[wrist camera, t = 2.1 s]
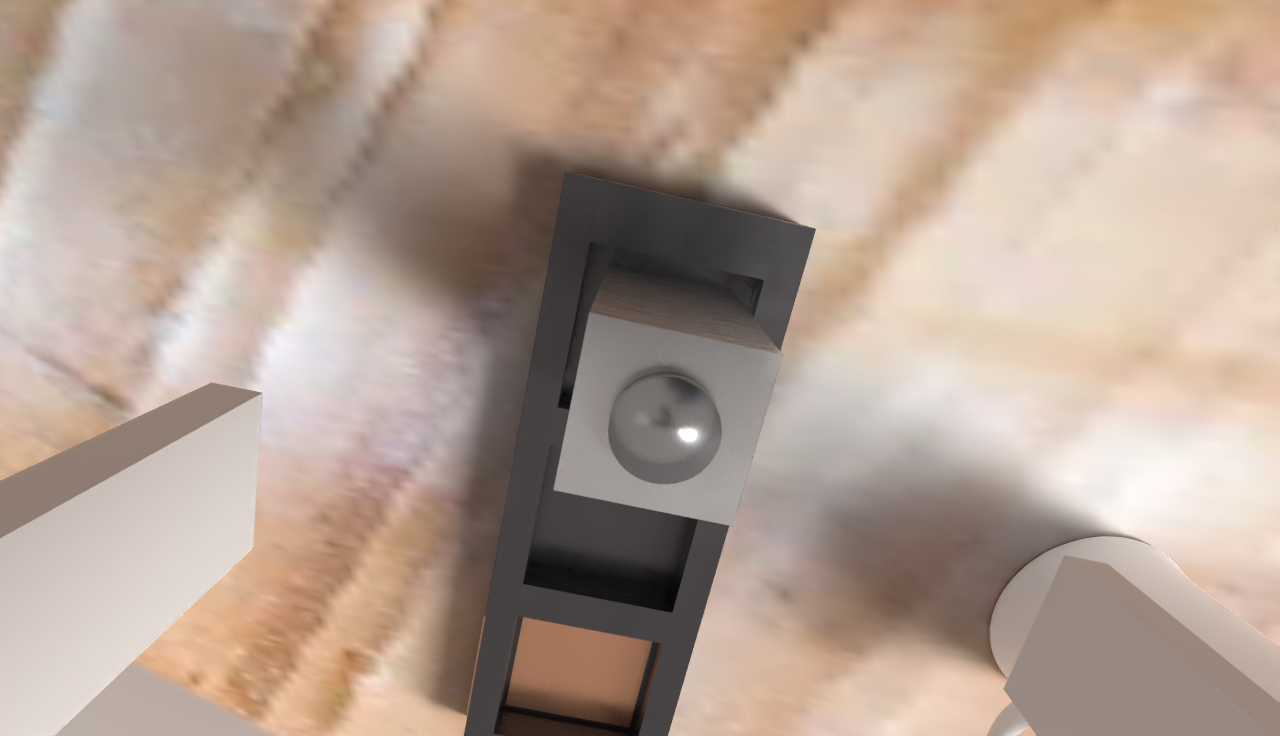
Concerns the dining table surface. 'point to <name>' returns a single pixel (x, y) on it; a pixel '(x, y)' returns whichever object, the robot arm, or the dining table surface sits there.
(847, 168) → the dining table surface
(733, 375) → the grey block with knob
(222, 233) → the dining table surface
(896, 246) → the dining table surface
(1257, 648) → the mug
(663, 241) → the tray with compartments
